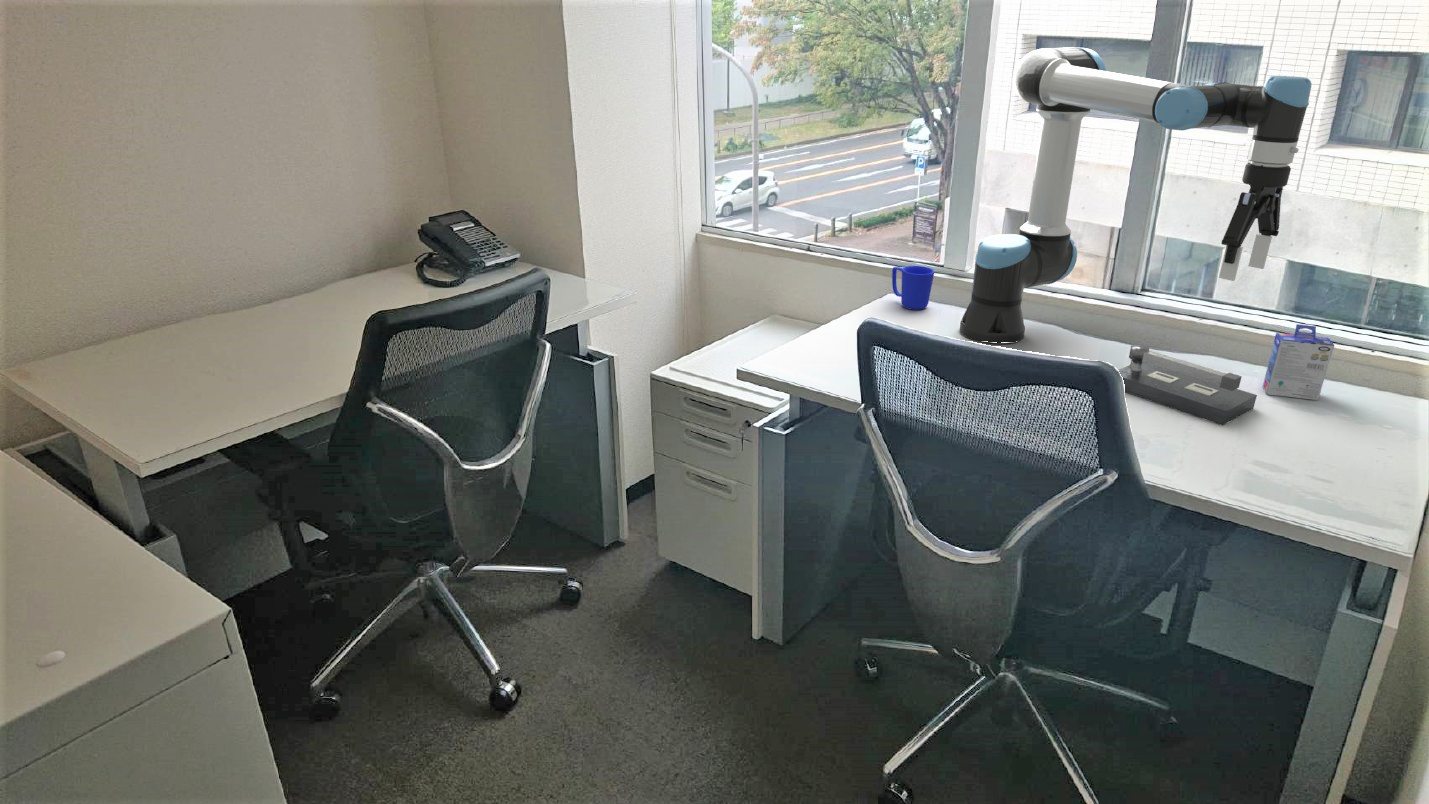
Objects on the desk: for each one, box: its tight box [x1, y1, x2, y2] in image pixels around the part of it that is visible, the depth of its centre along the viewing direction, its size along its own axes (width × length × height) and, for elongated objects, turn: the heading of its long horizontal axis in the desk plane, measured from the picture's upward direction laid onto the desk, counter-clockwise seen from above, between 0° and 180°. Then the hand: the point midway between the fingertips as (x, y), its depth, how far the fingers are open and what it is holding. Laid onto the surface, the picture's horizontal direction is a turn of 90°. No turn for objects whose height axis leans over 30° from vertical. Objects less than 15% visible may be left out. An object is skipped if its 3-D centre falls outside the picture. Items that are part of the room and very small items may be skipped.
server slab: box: [1118, 359, 1258, 426], centre depth 189 cm, size 24×13×5 cm, turn 38°
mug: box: [891, 265, 935, 311], centre depth 242 cm, size 8×12×10 cm
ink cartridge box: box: [1262, 323, 1335, 401], centre depth 190 cm, size 10×6×14 cm, turn 72°
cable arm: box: [1128, 344, 1243, 391], centre depth 188 cm, size 22×4×3 cm, turn 38°
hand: (1241, 273), depth 182 cm, fingers open, 13 cm apart
